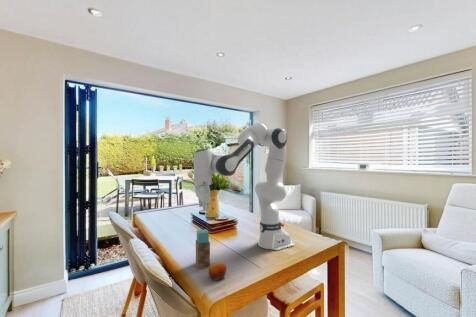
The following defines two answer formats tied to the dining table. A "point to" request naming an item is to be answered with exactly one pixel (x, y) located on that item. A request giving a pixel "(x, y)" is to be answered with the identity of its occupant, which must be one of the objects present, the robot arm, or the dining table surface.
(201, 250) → the tower top
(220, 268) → the fruit
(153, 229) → the dining table surface
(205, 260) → the block
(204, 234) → the teal block
